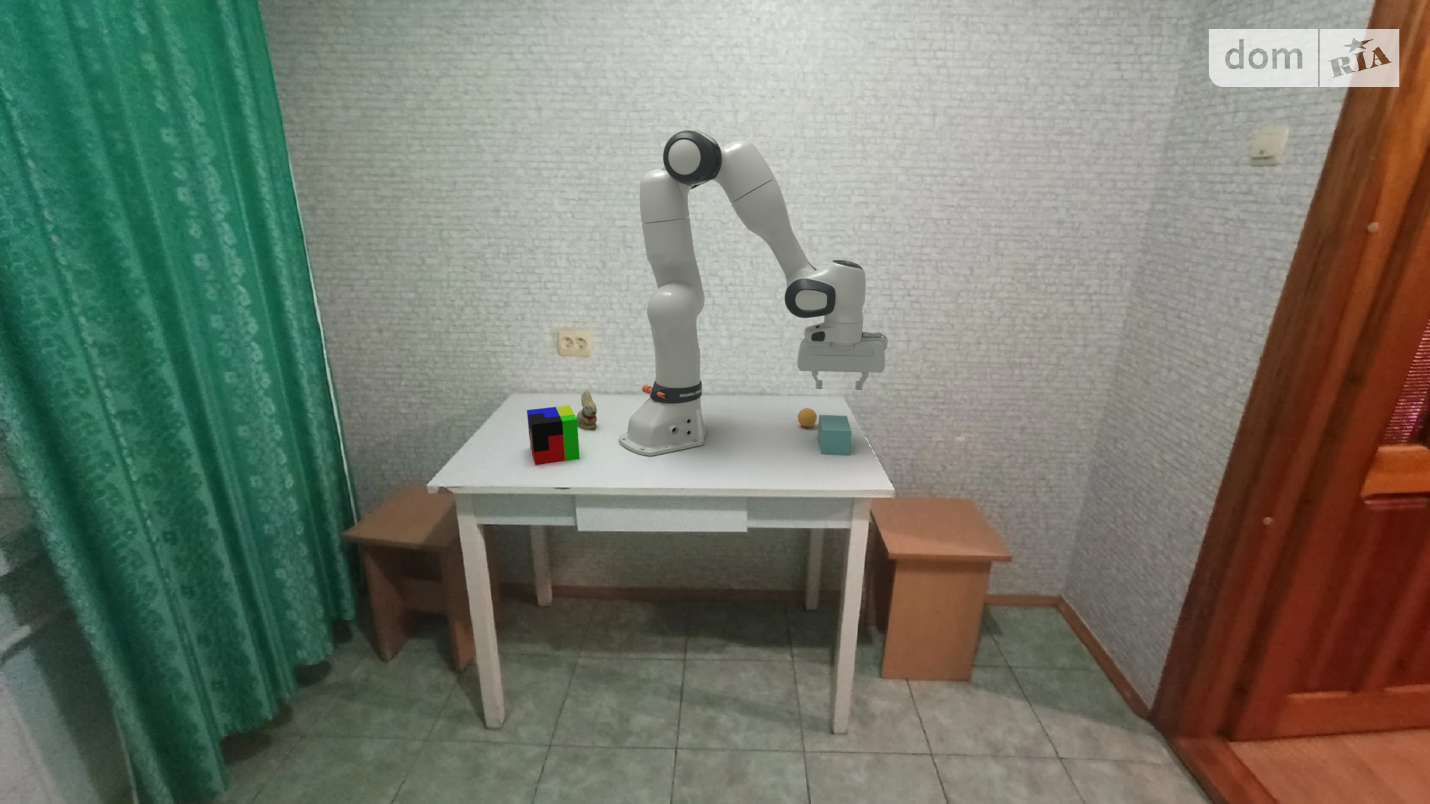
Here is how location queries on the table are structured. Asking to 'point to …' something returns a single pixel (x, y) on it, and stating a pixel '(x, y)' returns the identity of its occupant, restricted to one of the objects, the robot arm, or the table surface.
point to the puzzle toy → (553, 434)
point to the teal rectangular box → (834, 435)
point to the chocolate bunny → (587, 412)
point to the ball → (807, 417)
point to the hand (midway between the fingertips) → (838, 388)
